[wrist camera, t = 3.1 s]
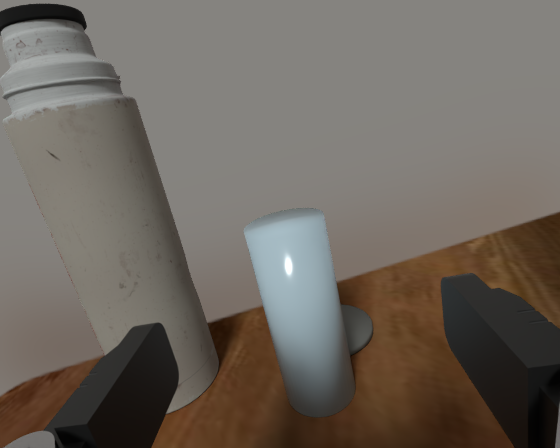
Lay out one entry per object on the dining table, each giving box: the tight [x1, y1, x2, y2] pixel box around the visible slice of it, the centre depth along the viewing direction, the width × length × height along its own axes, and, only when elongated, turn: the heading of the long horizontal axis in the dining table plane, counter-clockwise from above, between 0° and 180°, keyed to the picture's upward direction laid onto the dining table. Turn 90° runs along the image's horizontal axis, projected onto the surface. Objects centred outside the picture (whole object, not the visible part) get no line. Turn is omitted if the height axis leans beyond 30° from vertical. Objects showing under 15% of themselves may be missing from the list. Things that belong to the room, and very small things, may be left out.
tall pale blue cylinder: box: [244, 208, 355, 417], centre depth 23 cm, size 5×5×13 cm
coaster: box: [341, 305, 373, 355], centre depth 31 cm, size 7×7×1 cm
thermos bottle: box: [0, 4, 219, 414], centre depth 26 cm, size 8×8×28 cm
